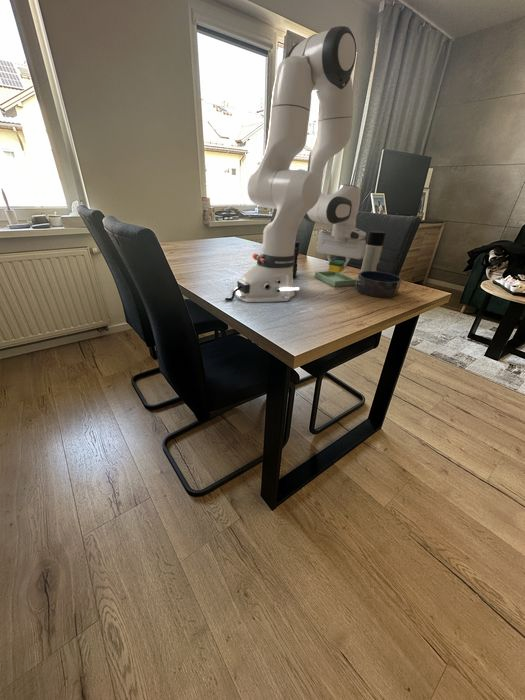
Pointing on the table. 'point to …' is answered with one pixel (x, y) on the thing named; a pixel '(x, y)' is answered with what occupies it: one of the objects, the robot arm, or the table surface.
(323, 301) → the table surface
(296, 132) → the robot arm
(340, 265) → the sponge
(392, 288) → the bowl
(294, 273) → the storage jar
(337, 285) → the dish
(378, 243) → the spray can
